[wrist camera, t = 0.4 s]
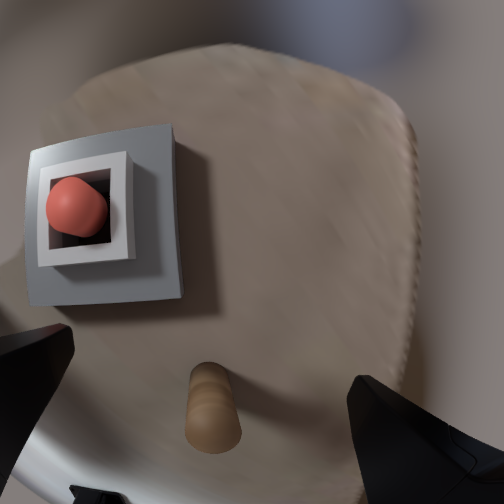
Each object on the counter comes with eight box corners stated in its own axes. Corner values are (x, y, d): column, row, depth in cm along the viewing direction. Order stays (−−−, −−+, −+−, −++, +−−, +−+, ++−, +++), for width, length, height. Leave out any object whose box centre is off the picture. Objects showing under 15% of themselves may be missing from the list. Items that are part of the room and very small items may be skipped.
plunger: (108, 234, 16) (90, 228, 13) (67, 239, 16) (45, 235, 13) (107, 186, 16) (91, 172, 13) (67, 193, 16) (47, 181, 13)
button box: (184, 293, 20) (177, 301, 15) (48, 302, 18) (15, 309, 13) (175, 140, 21) (169, 109, 16) (47, 162, 19) (19, 142, 14)
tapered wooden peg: (230, 393, 20) (244, 450, 13) (193, 396, 20) (190, 455, 12) (225, 360, 21) (238, 408, 13) (187, 363, 20) (180, 413, 12)
